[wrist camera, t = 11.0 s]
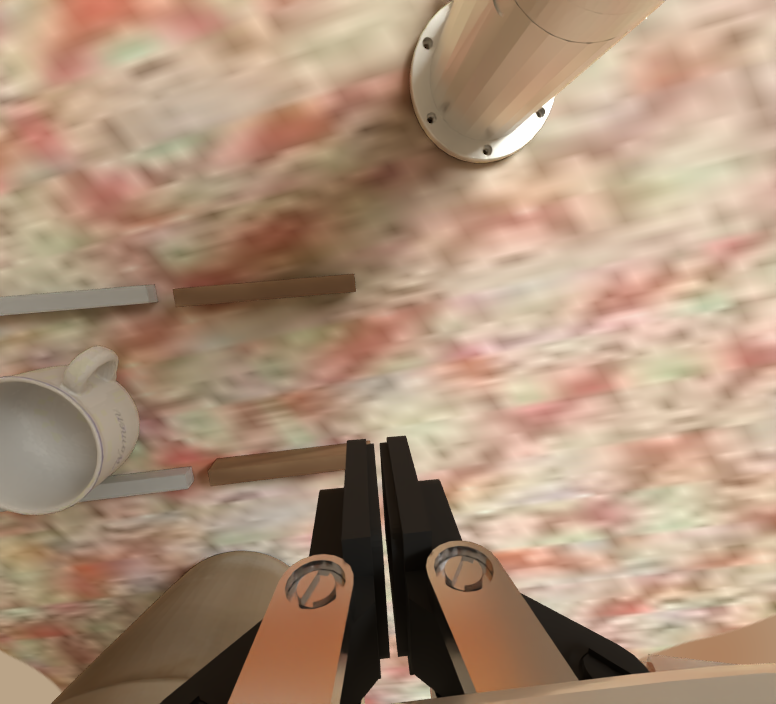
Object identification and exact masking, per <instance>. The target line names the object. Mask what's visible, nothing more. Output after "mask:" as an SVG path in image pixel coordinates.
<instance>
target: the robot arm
mask: <svg viewBox="0 0 776 704" xmlns="http://www.w3.org/2000/svg"><path fill="white" fill-rule="evenodd" d="M664 1H665V0H452V1H451V2H449V3H448V4H447V5H445V6H444V7H442V8H441V9H440V10H439V11H438V12H437V13H436V14H435V15H434V16H433V17H432V18H431V20H430V21H429V22H428V24H427V25H426V27H425V28H424V30H423V32H422V33H421V35H420V38H419V40H418V43H417V45H416V48H415V51H414V55H413V58H412V62H411V70H410V95H411V99H412V104H413V108H414V111H415V114H416V116H417V118H418V121H419V123H420V125H421V127H422V128H423V130H424V131H425V133H426V134H427V136H428V137H429V138H430V139H431V140H432V141H433V142H434V143H435V144H436V145H437V146H438V147H439V148H440V149H442V150H443V151H445V152H446V153H447V154H449V155H451V156H453V157H455V158H458V159H460V160H463V161H468V162H473V163H489V162H493V161H498V160H501V159H504V158H506V157H508V156H510V155H512V154H514V153H515V152H517V151H518V150H520V149H521V148H523V147H524V146H525V145H526V144H527V143H529V142H530V141H531V140H532V139H533V138H534V137H535V136H536V134H537V133H538V132H539V131H540V129H541V128H542V127H543V125H544V123H545V121H546V120H547V118H548V116H549V114H550V111H551V108H552V105H553V102H554V99H555V96H556V95H557V94H558V93H559V92H560V91H562V90H563V89H564V88H565V87H566V86H567V85H569V84H570V83H571V82H572V81H573V80H574V79H576V78H577V77H578V76H579V75H580V74H581V73H583V72H584V71H585V70H586V69H587V68H588V67H590V66H591V65H592V64H593V63H594V62H595V61H597V60H598V59H599V58H600V57H601V56H602V55H604V54H605V53H606V52H607V51H608V50H609V49H611V48H612V47H613V46H614V45H615V44H616V43H618V42H619V41H620V40H621V39H622V38H623V37H624V36H626V35H627V34H628V33H629V32H630V31H631V30H633V29H634V28H635V27H636V26H637V25H638V24H640V23H641V22H642V21H643V20H644V19H645V18H647V17H648V16H649V15H650V14H651V13H652V12H653V11H655V10H656V9H657V8H658V7H659V6H660V5H661V4H662V3H663V2H664ZM424 47H427V48H428V50H427V49H425V48H424ZM536 114H537V115H538V117H537V116H536ZM428 119H431V120H432V124H431V123H429V122H428V121H427V120H428ZM483 150H484V151H486V153H487V154H486V155H485V154H484V153H483ZM380 456H381V472H382V488H383V504H384V520H385V534H386V545H387V554H388V564H389V574H390V584H391V593H392V603H393V613H394V623H395V633H396V642H397V652H398V657H401V656H408V663H409V671H410V675H414V674H415V675H416V676H417V677H418V678H419V679H421V680H422V681H423V682H424V683H426V684H427V685H428V686H429V687H430V693H431V699H425V700H417V701H409V702H401V703H393V704H776V663H766V664H747V665H738V664H729V663H720V662H711V661H703V660H694V659H685V658H676V657H667V656H659V655H650V654H648V658H647V662H644V661H639V660H638V659H637V658H636V657H635V656H634V655H633V654H631V653H630V652H628V651H627V650H625V649H624V648H622V647H621V646H619V645H618V644H616V643H614V642H612V641H610V640H608V639H606V638H604V637H603V636H601V635H599V634H597V633H595V632H593V631H591V630H589V629H587V628H586V627H584V626H582V625H580V624H578V623H576V622H574V621H572V620H570V619H569V618H567V617H565V616H563V615H561V614H559V613H557V612H555V611H554V610H552V609H550V608H548V607H546V606H544V605H542V604H540V603H538V602H537V601H535V600H533V599H531V598H529V597H527V596H525V595H523V594H521V593H520V592H519V590H518V589H517V587H516V586H515V585H514V583H513V582H512V580H511V579H510V577H509V576H508V574H507V573H506V571H505V570H504V568H503V567H502V565H501V564H500V562H499V561H498V559H497V558H496V557H495V556H494V555H493V554H492V553H491V552H490V551H489V550H487V549H486V548H484V547H483V546H481V545H478V544H475V543H473V542H468V541H462V539H461V536H460V534H459V531H458V528H457V525H456V523H455V520H454V517H453V515H452V512H451V509H450V506H449V504H448V501H447V498H446V496H445V493H444V490H443V487H442V485H441V482H440V480H439V479H436V480H425V481H418V479H417V475H416V471H415V468H414V464H413V460H412V457H411V453H410V449H409V446H408V442H407V438H406V436H396V437H387V442H386V443H380ZM384 658H390V652H389V636H388V621H387V606H386V590H385V575H384V560H383V545H382V531H381V520H380V509H379V497H378V486H377V475H376V464H375V452H374V444H366V439H360V440H348V441H347V446H346V464H345V483H344V488H336V489H325V490H320V492H319V498H318V504H317V510H316V516H315V523H314V529H313V535H312V542H311V548H310V554H309V557H307V558H304V559H302V560H300V561H298V562H297V563H295V564H293V565H292V566H291V567H290V568H289V569H288V570H287V571H286V572H285V573H284V574H283V576H282V577H281V579H280V581H279V582H278V585H277V587H276V589H275V592H274V594H273V597H272V599H271V601H270V604H269V606H268V608H267V611H266V613H265V616H264V618H263V619H262V620H261V621H260V622H258V623H257V624H256V625H255V626H253V627H252V628H251V629H250V630H249V631H247V632H246V633H245V634H244V635H242V636H241V637H240V638H239V639H237V640H236V641H235V642H234V643H233V644H231V645H230V646H229V647H228V648H226V649H225V650H224V651H223V652H221V653H220V654H219V655H218V656H217V657H215V658H214V659H213V660H212V661H210V662H209V663H208V664H207V665H205V666H204V667H203V668H202V669H201V670H199V671H198V672H197V673H196V674H194V675H193V676H192V677H191V678H190V679H188V680H187V681H186V682H185V683H183V684H182V685H181V686H180V687H178V688H177V689H176V690H175V691H174V692H172V693H171V694H170V695H169V696H167V697H166V698H165V699H164V700H163V701H162V702H161V703H160V704H365V699H364V696H365V695H366V694H367V693H368V691H369V690H370V689H371V688H372V686H373V685H374V684H375V683H376V681H377V680H378V679H381V671H380V659H384Z"/></svg>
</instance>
